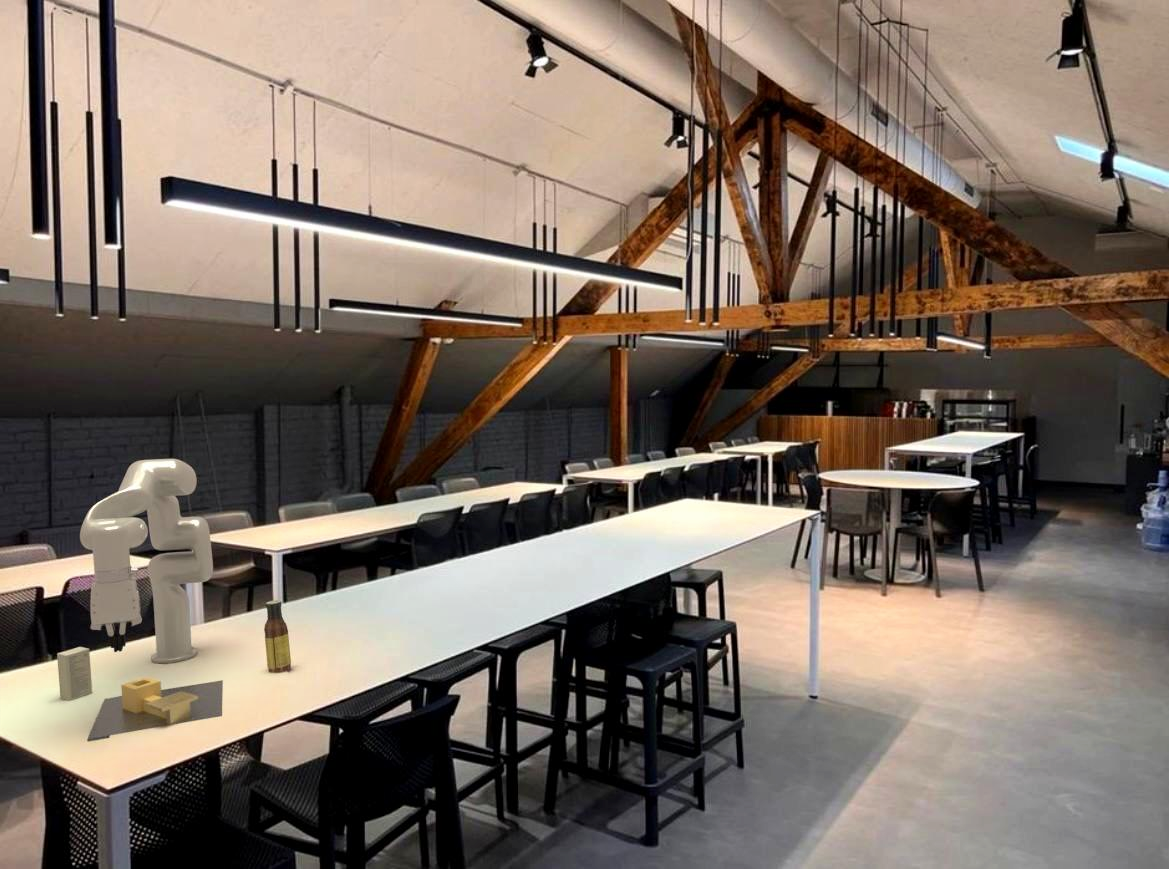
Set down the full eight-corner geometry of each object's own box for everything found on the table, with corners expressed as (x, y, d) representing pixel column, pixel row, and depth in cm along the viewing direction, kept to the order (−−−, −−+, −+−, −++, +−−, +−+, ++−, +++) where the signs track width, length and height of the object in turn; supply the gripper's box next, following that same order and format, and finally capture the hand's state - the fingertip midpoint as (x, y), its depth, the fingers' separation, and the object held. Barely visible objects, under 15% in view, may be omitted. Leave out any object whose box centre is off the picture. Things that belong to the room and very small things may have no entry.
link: (122, 708, 202) (121, 684, 202) (148, 700, 208) (146, 677, 207) (162, 722, 192) (161, 697, 192) (188, 713, 198) (186, 689, 197)
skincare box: (83, 690, 218) (80, 646, 217) (93, 693, 216) (90, 648, 215) (59, 698, 212) (56, 653, 212) (68, 701, 210) (65, 655, 210)
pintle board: (104, 700, 210) (103, 678, 210) (222, 682, 221) (221, 661, 221) (86, 743, 183) (85, 718, 183) (222, 719, 194) (220, 696, 194)
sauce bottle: (294, 666, 232) (290, 598, 231) (287, 674, 226) (283, 603, 225) (271, 667, 232) (267, 599, 231) (263, 675, 225) (259, 604, 224)
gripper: (149, 568, 200) (154, 640, 202) (79, 575, 194) (85, 650, 196) (147, 575, 193) (152, 649, 195) (73, 583, 187) (80, 660, 189)
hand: (118, 649), depth 195 cm, fingers closed
